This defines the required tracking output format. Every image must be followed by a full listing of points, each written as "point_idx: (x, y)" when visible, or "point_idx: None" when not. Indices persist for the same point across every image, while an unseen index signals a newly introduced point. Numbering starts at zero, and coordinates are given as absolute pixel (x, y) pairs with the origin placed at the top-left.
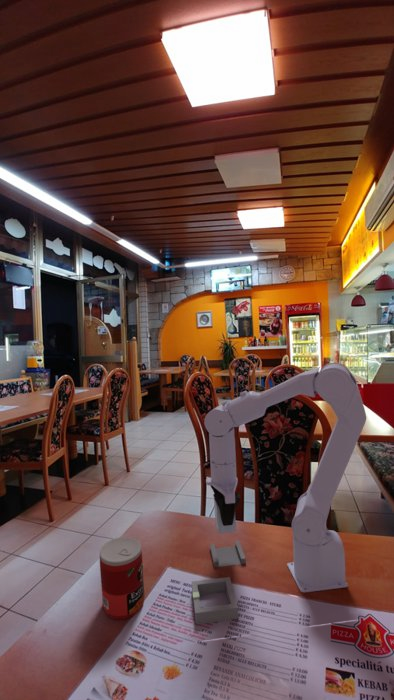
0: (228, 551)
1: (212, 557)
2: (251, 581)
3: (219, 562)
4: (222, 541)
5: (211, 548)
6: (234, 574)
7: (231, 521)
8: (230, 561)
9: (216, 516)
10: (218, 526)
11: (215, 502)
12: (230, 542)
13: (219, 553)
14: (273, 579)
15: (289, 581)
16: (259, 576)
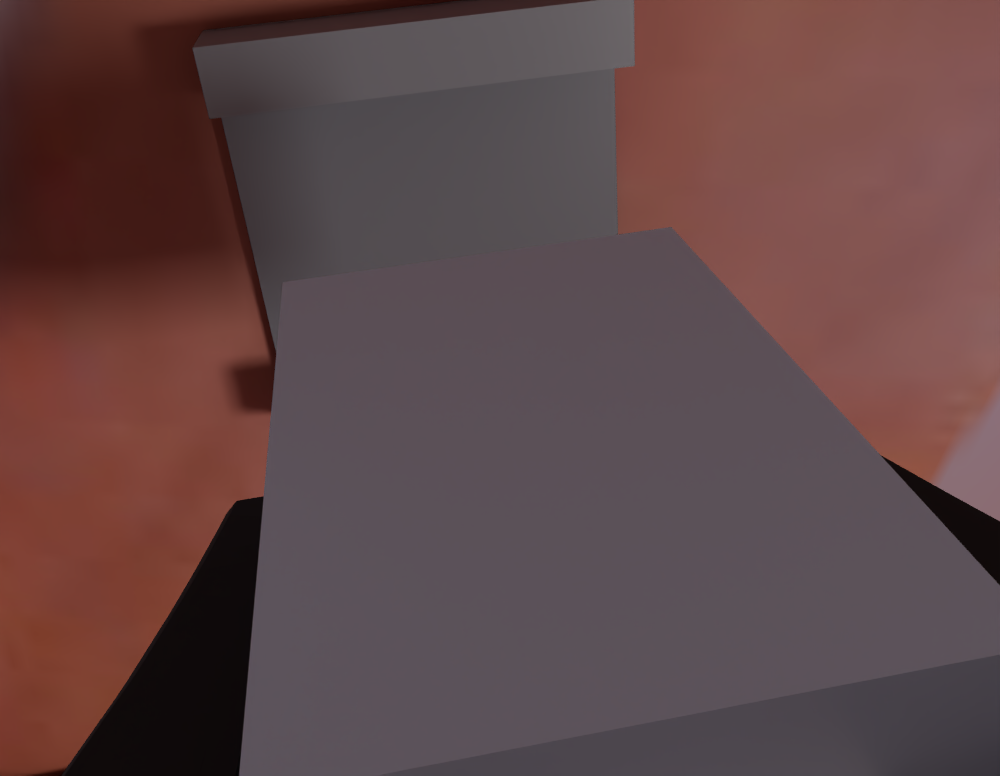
0: (521, 238)
1: (369, 18)
2: (20, 451)
3: (308, 111)
4: (751, 165)
5: (512, 17)
6: (111, 285)
7: None
8: (327, 254)
9: (453, 422)
10: (284, 368)
11: (644, 729)
12: (709, 265)
13: (494, 118)
14: (85, 630)
15: (78, 734)
16: (112, 525)
